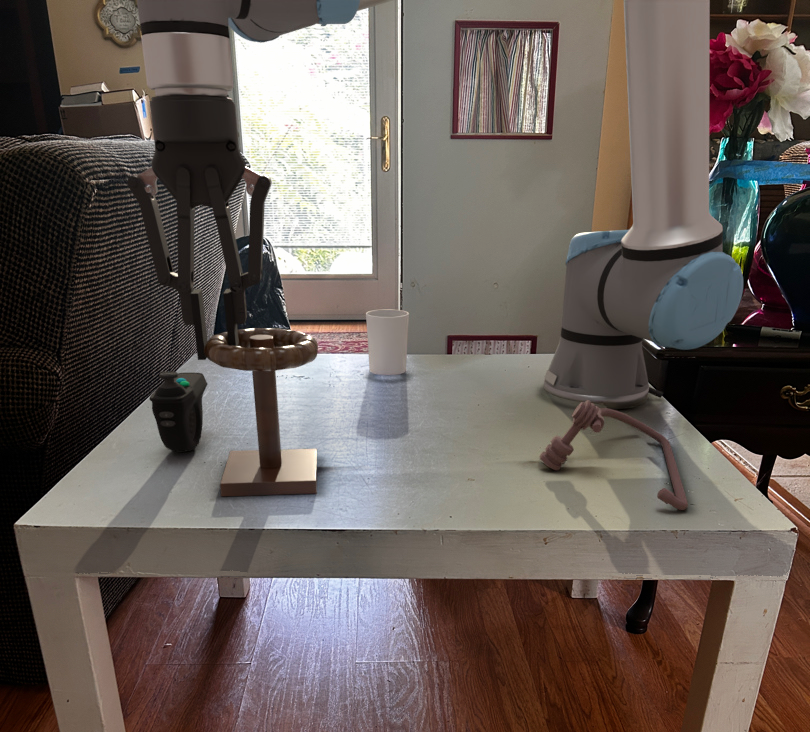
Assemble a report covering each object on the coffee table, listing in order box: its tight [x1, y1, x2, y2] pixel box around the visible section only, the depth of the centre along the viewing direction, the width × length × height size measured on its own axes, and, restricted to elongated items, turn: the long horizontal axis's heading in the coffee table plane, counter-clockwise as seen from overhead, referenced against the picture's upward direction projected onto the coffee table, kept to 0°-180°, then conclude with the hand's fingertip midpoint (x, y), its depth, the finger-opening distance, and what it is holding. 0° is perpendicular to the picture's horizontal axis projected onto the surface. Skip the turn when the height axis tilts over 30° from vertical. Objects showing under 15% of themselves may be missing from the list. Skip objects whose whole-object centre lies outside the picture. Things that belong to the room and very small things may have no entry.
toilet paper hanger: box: [539, 400, 689, 511], centre depth 89 cm, size 22×8×14 cm
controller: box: [149, 370, 208, 452], centre depth 94 cm, size 4×12×10 cm, turn 179°
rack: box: [219, 335, 318, 497], centre depth 84 cm, size 10×10×16 cm
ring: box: [204, 327, 319, 372], centre depth 81 cm, size 11×11×2 cm
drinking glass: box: [365, 308, 410, 376], centre depth 124 cm, size 7×7×10 cm
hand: (219, 356), depth 81 cm, fingers closed on ring, 2 cm apart
